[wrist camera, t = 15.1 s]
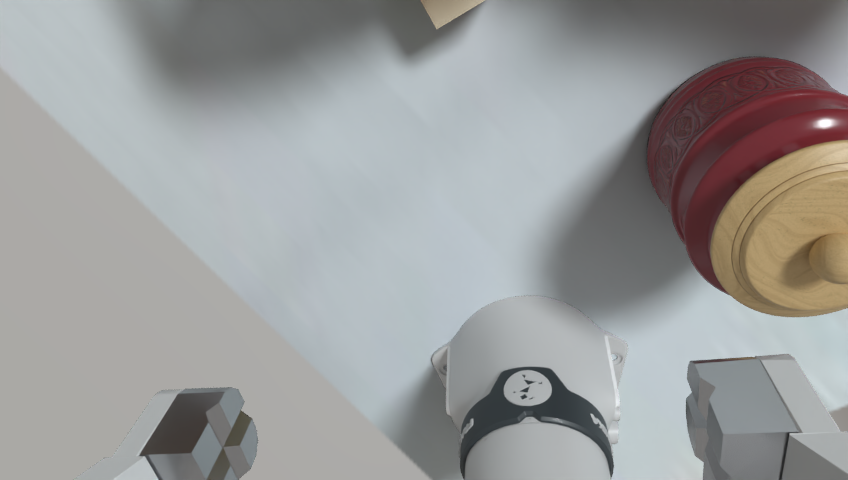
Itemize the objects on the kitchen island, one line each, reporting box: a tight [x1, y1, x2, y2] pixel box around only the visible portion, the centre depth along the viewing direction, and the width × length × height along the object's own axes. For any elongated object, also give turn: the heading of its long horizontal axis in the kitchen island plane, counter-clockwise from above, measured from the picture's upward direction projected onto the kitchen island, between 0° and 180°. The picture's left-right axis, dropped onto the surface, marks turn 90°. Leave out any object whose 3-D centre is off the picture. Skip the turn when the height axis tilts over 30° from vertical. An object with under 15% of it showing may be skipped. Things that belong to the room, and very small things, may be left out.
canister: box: [647, 56, 848, 317], centre depth 38 cm, size 13×13×18 cm
